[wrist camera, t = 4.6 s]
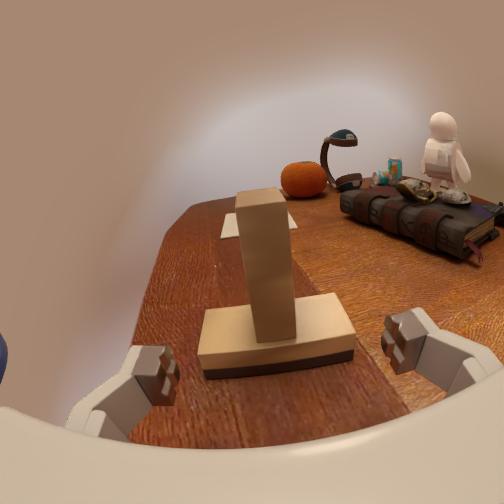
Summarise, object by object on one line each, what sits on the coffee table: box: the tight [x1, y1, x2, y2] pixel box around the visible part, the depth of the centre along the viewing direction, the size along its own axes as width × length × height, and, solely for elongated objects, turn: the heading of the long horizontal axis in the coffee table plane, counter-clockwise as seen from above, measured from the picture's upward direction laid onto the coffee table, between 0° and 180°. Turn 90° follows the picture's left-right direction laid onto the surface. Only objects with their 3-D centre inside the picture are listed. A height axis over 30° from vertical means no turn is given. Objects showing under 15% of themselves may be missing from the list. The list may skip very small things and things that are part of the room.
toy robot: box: [420, 112, 471, 192], centre depth 46 cm, size 14×9×20 cm, turn 24°
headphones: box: [320, 129, 363, 191], centre depth 60 cm, size 6×15×22 cm
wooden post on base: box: [197, 187, 356, 379], centre depth 17 cm, size 10×5×11 cm, turn 92°
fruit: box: [281, 161, 327, 198], centre depth 60 cm, size 11×10×8 cm
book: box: [340, 179, 503, 262], centre depth 34 cm, size 26×18×7 cm
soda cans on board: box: [369, 157, 402, 188], centre depth 62 cm, size 12×12×8 cm
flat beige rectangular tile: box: [221, 212, 298, 239], centre depth 48 cm, size 12×14×1 cm
